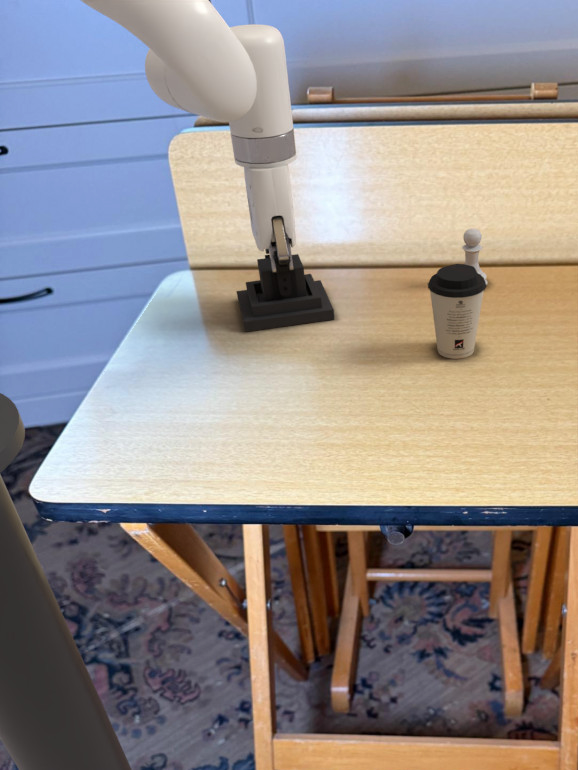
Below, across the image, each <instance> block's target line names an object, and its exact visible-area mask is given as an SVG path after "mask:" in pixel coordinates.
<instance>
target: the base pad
mask: <svg viewBox="0 0 578 770" xmlns="http://www.w3.org/2000/svg"><path fill="white" fill-rule="evenodd" d="M304 275H305V284H306V293H307V296H301V297H297V298H290V299H282V300H271V301H265V298H264V295H263V291H262V288H261V282H260V279H259V280H252V281H245V287H246V288H245V289H242V290H237V291H236V297H237V301H238V306H239V310H240V315H241V319H242V322H243V327H244V330H245V332H246V333H249V332H255V331H262V330H263V331H264V330H270V329H276V328H284V327H291V326H298V325H304V324H312V323H321V322H327V321H333V320H335V310H334V307H333V305H332V302H331V300H330V298H329V296H328V293H327V292H326V288H325V287H324V285H323V283H322V280H320V279H318V280H314V278H313V275H312V274H311V273H306V274H305V273H304Z"/></svg>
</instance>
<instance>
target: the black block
mask: <svg viewBox="0 0 578 770" xmlns="http://www.w3.org/2000/svg"><path fill="white" fill-rule="evenodd" d="M256 261H257V268H258V276H259V280H260V282H261V288H262V291H263V295H264V298H265V301H271V300H275V299H274V297H273V290H272V283H271V276H270V270H272V267H271V261H270V258H265V257H263V258H258V259H256ZM292 261H293V267H294V268H295V276H296V284H297V292H298V297H301V296H307V293H306V284H305V267H304V264H303V262H302V260H301V257H300V255H299V254H298V253H296V254H292Z"/></svg>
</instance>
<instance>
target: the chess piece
mask: <svg viewBox="0 0 578 770" xmlns="http://www.w3.org/2000/svg"><path fill="white" fill-rule="evenodd" d="M462 237H463V242H464V245H463V246H461V249H462V250H463V251H464V258H465V260H464V261H465V262H464V264H465V265H470V266H473V267H474V268H475V269H476V271H477V273H478V274H480V275H481V276H482V277H483V278H484V280H485V282H486V286H487V285H488V280H487V278H488V277H487V273H485V272H484V271H483V270H482V269H481V268H480V267H481V266H480V264H479V255H480V251H481V250H482V249H483V246H482V245H480V243H481V241H482V233H481V231H480V230H479V229H477V228H468V229H467V230H465V231H464V233H463V236H462Z"/></svg>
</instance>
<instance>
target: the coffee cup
mask: <svg viewBox="0 0 578 770" xmlns="http://www.w3.org/2000/svg"><path fill="white" fill-rule="evenodd" d="M427 288H428V290H429V291H430V292H429V293H430V300H431V308H432V316H433V323H434V324H433V325H434V332H435V340H436V348H437V349H436V350H437V353H438V354H439V356H441V357H443V358H447V359H453V360H457V359H464V358H467V357H470V356H472V355H473V353H474V351H475V348H476V347H475V346H476V340H477V334H478V328H479V323H480V316H481V312H482V311H481V310H482V304H483V297H484V291H485V290H486V288H487V285H486V282H485V280H484V278H483V277H482V276H481V275H480V274H478V273H477V271H476V269H475V268H474V267H473V266H470V265H465V263H453V264H450V265H447V266H442V267H441V268H439V269H438V270H437V272H436V273H434V274H433V275H432V276H431V277H430V278H429V280H428V283H427Z"/></svg>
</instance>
